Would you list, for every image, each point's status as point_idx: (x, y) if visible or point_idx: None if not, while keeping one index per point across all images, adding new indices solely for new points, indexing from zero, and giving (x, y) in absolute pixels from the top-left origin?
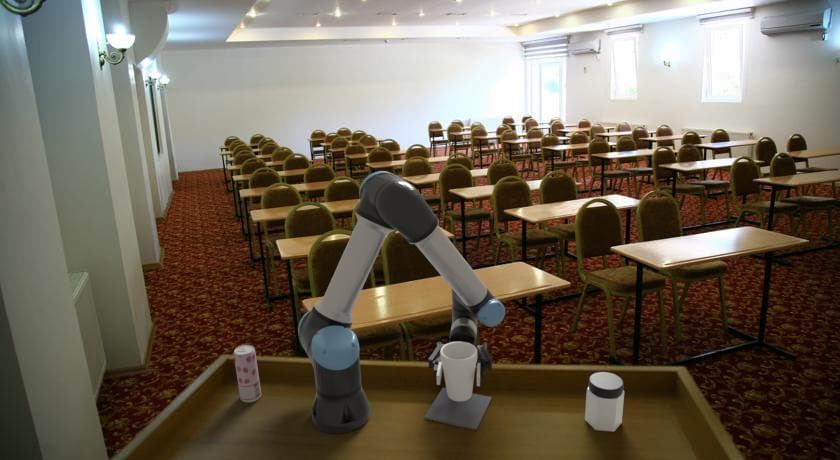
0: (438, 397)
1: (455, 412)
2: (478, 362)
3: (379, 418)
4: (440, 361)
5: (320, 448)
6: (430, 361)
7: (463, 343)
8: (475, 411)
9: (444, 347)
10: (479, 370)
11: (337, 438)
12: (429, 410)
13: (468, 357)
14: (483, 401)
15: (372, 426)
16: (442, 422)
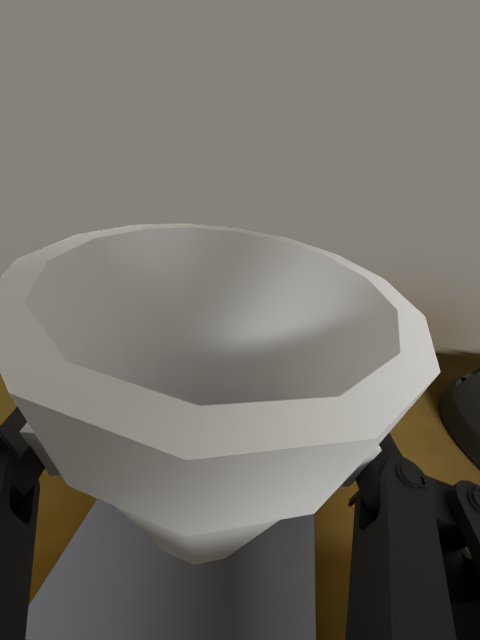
0: (306, 592)
1: None
2: (9, 512)
3: (428, 441)
4: (381, 494)
5: (447, 357)
6: (456, 483)
7: (145, 389)
8: None
9: (395, 318)
10: None
11: (447, 377)
12: None
13: (158, 228)
14: (84, 567)
15: (417, 410)
16: None
